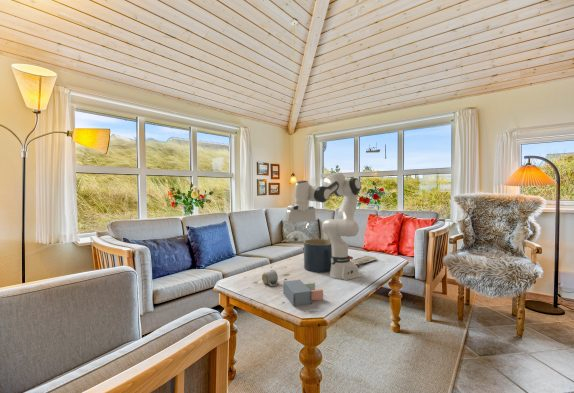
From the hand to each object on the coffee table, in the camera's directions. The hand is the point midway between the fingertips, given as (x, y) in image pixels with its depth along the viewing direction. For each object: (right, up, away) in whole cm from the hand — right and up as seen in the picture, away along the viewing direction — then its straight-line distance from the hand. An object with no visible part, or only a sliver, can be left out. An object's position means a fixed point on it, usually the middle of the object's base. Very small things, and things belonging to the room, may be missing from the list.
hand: (300, 228), depth 172 cm
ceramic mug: (-19, -36, +3) cm, 40 cm away
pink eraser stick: (+4, -36, -23) cm, 43 cm away
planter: (+15, -34, +35) cm, 51 cm away
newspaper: (+51, -34, +50) cm, 79 cm away
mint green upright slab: (+1, -36, -12) cm, 38 cm away
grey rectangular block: (-3, -37, -19) cm, 41 cm away
